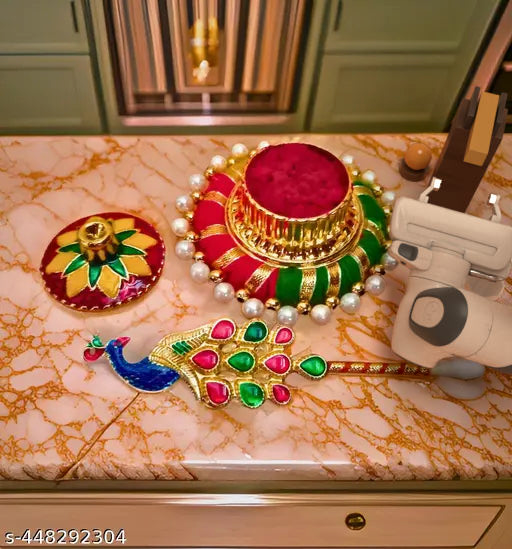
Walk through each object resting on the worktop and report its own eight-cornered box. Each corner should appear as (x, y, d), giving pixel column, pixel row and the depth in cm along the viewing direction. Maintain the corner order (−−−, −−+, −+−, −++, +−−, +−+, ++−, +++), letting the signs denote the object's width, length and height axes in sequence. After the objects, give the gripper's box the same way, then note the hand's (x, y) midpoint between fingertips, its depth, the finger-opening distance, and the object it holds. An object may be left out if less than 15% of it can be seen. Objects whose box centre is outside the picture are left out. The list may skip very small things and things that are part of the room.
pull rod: (481, 166, 94) (487, 153, 91) (463, 161, 94) (468, 148, 92) (493, 108, 101) (499, 95, 99) (476, 103, 102) (482, 91, 100)
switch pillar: (457, 226, 118) (509, 125, 95) (419, 215, 119) (461, 113, 96) (464, 198, 122) (514, 95, 99) (426, 188, 123) (468, 84, 101)
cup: (489, 293, 109) (505, 269, 102) (487, 339, 104) (505, 317, 97) (451, 285, 110) (465, 261, 103) (448, 330, 104) (462, 308, 98)
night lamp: (416, 158, 128) (425, 133, 122) (432, 176, 125) (441, 152, 119) (393, 166, 126) (401, 141, 120) (408, 184, 124) (417, 160, 117)
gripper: (511, 285, 89) (537, 199, 89) (381, 246, 92) (407, 164, 93) (500, 287, 95) (525, 207, 95) (379, 251, 98) (403, 174, 99)
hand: (465, 186), depth 94 cm, fingers open, 8 cm apart
